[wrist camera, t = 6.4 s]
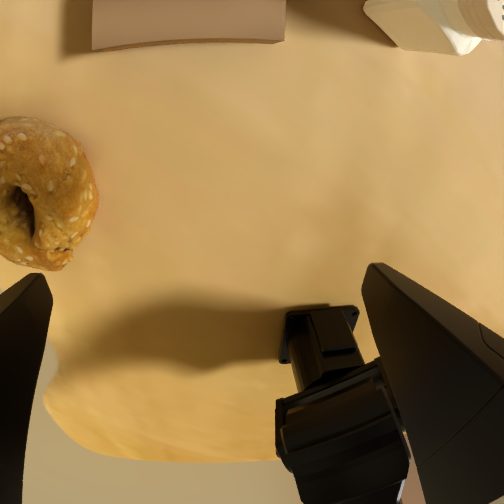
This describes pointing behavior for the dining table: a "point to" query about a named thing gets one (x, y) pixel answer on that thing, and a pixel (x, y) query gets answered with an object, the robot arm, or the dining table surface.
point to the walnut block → (185, 22)
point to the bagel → (43, 194)
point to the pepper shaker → (438, 23)
